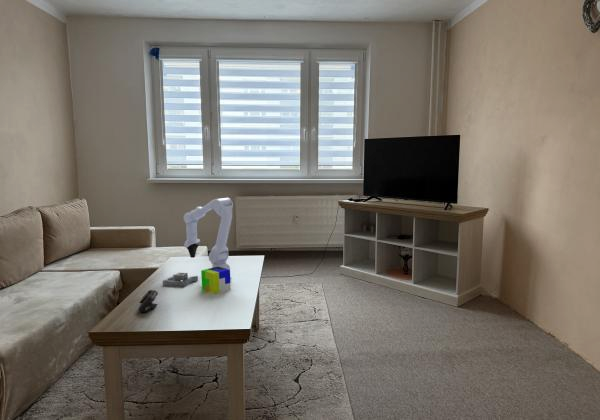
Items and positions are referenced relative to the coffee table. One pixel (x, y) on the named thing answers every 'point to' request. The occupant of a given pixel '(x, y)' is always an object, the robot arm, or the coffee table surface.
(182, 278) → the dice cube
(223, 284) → the puzzle toy
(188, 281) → the chassis bay
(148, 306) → the black angular device
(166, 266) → the coffee table surface
